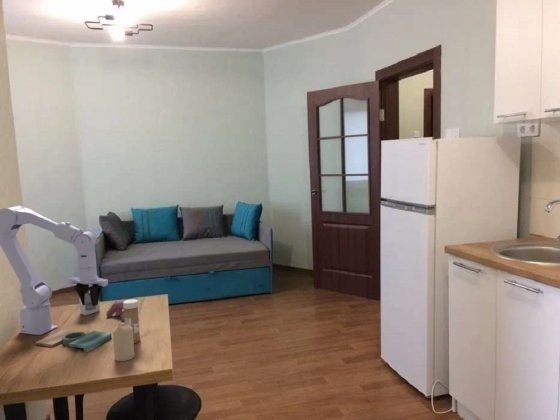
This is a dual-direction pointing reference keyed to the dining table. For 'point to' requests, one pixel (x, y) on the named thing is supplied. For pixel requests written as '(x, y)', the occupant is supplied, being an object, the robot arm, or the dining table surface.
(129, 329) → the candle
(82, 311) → the skincare box
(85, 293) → the pin
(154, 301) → the dining table surface
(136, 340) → the sprinkles bottle
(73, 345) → the hinge
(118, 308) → the video game controller
